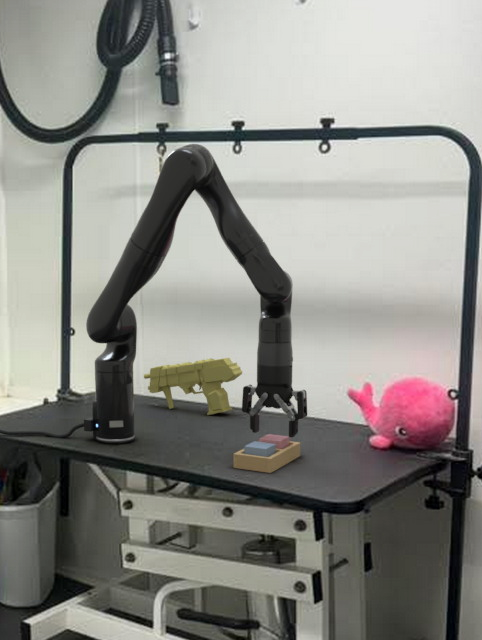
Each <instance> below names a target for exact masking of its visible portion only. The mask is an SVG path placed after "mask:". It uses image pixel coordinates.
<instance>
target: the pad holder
mask: <svg viewBox="0 0 482 640" xmlns="http://www.w3.org/2000/svg"><path fill="white" fill-rule="evenodd" d="M257 442H259V440H258V441H257ZM232 455H233V460H232V461H233V468H234V469H239V470H247V471H254V472H259V473H260V472H261V473H268V474H272V473H274V472H275V471H277V470H278V469H281V468H282V467H284V466H285V465H287V464H289V463H291V462H292V461H294V460H296V459H298V458H299V457H301V442H300V441H290V440H289V446H288V447H286V448H284V449H276V450H275V454H273V455H271V456H270V457H263V456H256V455H248V454H244V448H242V449H240V450H238V451H236V452H234V453H233V454H232Z"/></svg>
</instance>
